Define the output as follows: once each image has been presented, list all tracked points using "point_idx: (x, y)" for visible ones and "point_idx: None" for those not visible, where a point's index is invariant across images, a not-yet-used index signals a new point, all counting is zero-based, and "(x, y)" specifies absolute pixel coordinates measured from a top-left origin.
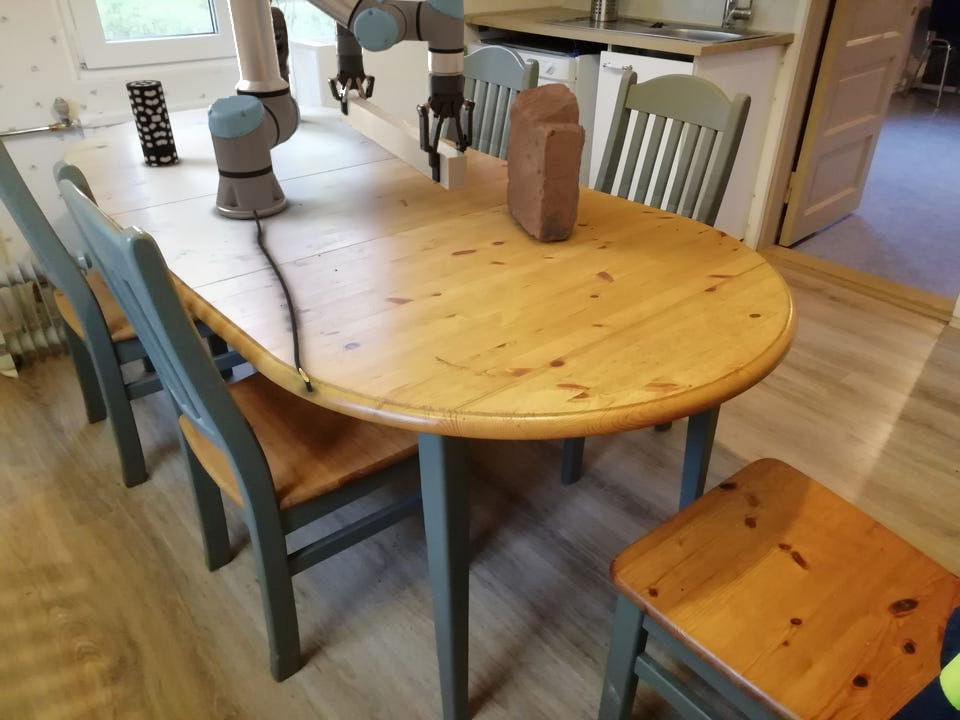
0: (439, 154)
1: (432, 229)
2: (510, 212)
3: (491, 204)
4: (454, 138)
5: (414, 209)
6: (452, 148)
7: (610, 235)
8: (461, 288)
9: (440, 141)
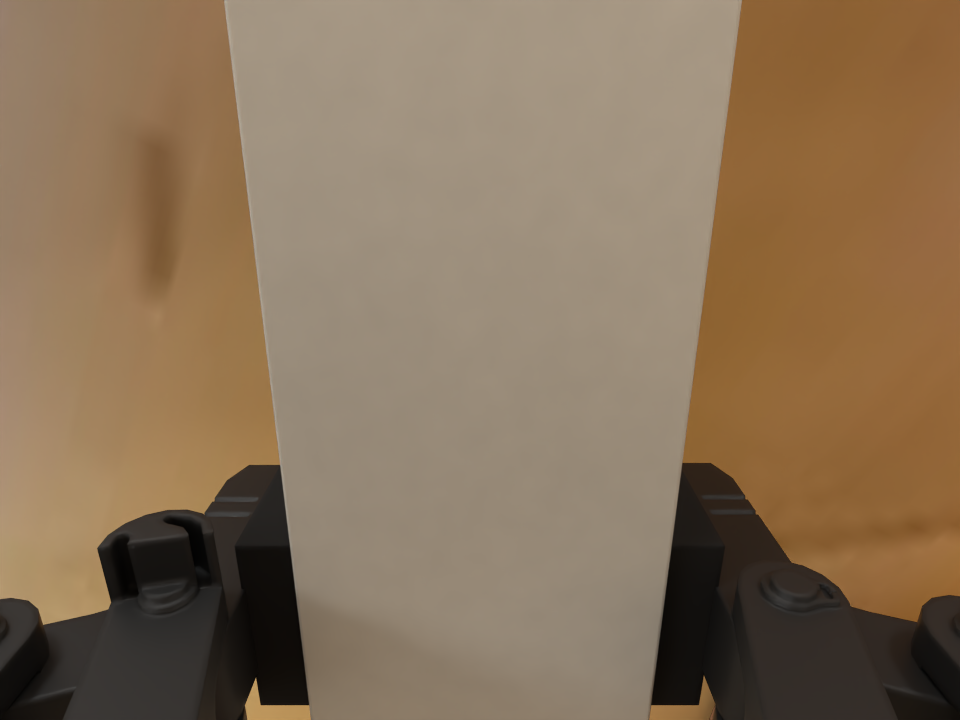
0: (307, 701)
1: None
2: (711, 714)
3: None
4: (764, 715)
5: (197, 370)
6: (631, 595)
7: None
8: None
9: (705, 16)
